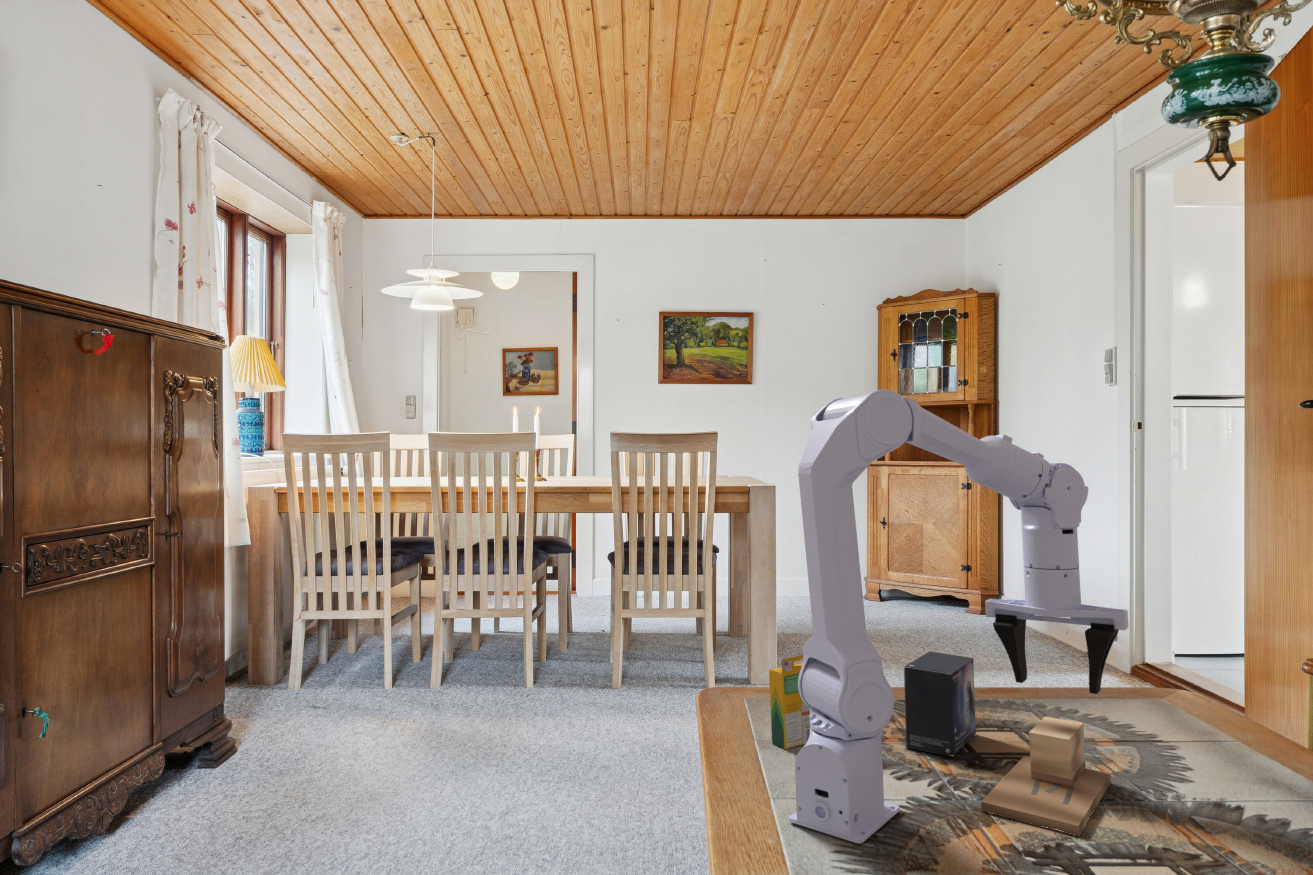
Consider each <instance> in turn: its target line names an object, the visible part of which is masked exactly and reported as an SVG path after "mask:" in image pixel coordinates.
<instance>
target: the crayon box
mask: <svg viewBox="0 0 1313 875" xmlns="http://www.w3.org/2000/svg"><path fill="white" fill-rule="evenodd" d="M801 660H803V654H801V655H796V656H791V657H790V656H789V657H786V658H784V657H783V658H782V659H781V660H780V661H781V667H777V668H771V669H769V670H768V679H769V681H768V682H769V700H770V702H769V703H770V724H771V726H770V727H771V744H772V745H773V746H777V747H779V748H781V749H782V750H785V751H787V750H789V749H791V748H796V747H800V746H804V745H805V744H806V743H807V741H808V739H809V735H810V711H809V707H808V706H807V705H806V704H805V703H804V701H803V700H802V698H801V696H800V694H799V690H798V678H799V674H800V671H801V668H802V665H803V662H802V663H796V664H794V663H795V662H799V661H801Z"/></svg>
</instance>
